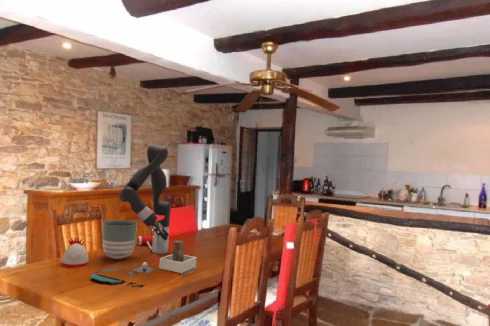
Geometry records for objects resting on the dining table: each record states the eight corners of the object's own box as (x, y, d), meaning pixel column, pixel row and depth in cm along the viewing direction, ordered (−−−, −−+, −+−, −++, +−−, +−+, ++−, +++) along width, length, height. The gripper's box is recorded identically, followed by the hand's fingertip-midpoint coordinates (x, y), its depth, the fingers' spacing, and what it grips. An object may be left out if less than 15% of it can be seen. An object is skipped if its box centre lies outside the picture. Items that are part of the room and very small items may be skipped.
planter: (125, 252, 256) (127, 218, 256) (141, 259, 242) (143, 224, 242) (94, 256, 242) (96, 221, 242) (110, 264, 228) (112, 226, 228)
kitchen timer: (64, 260, 231) (65, 234, 230) (89, 260, 234) (91, 234, 234) (59, 267, 217) (61, 240, 217) (86, 267, 221) (88, 240, 220)
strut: (171, 268, 225) (173, 241, 224) (176, 266, 229) (177, 240, 228) (178, 270, 223) (180, 243, 222) (183, 268, 227) (184, 241, 227)
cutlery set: (108, 270, 218) (108, 266, 218) (157, 280, 209) (157, 275, 208) (83, 281, 199) (83, 276, 199) (135, 292, 190) (136, 287, 190)
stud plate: (130, 272, 216) (131, 262, 215) (142, 268, 225) (143, 258, 224) (145, 276, 211) (146, 266, 211) (157, 271, 220) (158, 262, 220)
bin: (159, 271, 222) (159, 258, 222) (174, 265, 235) (175, 253, 235) (181, 275, 216) (182, 262, 216) (195, 269, 229) (196, 257, 229)
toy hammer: (161, 251, 265) (161, 242, 265) (143, 252, 260) (143, 242, 260) (153, 244, 286) (154, 235, 286) (137, 244, 281) (137, 235, 281)
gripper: (151, 213, 216) (171, 235, 218) (154, 209, 230) (173, 230, 232) (140, 223, 216) (160, 245, 217) (143, 218, 230) (163, 239, 231)
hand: (167, 237), depth 225 cm, fingers open, 8 cm apart
